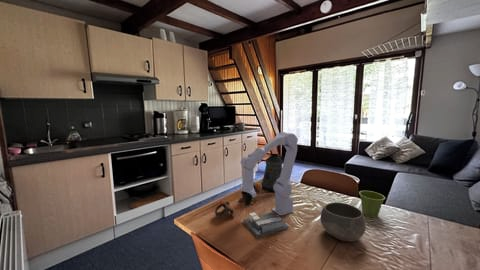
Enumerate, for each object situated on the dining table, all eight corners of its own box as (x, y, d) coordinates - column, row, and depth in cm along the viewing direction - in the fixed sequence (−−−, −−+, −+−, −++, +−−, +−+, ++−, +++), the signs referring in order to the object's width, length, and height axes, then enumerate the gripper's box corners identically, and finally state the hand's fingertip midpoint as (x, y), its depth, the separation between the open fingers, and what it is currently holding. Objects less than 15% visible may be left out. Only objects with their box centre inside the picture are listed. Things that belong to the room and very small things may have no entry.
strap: (278, 218, 103) (278, 216, 103) (282, 221, 100) (282, 219, 100) (255, 224, 97) (255, 221, 97) (258, 227, 94) (258, 224, 94)
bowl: (365, 254, 80) (367, 224, 78) (316, 240, 89) (318, 212, 87) (363, 231, 95) (365, 205, 94) (322, 221, 104) (323, 197, 103)
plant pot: (361, 218, 107) (362, 198, 106) (355, 208, 118) (356, 189, 117) (387, 222, 104) (389, 200, 102) (378, 211, 115) (380, 191, 114)
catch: (254, 218, 103) (254, 212, 103) (260, 223, 99) (260, 217, 98) (249, 219, 102) (249, 213, 102) (254, 225, 97) (254, 218, 97)
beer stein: (256, 188, 147) (257, 154, 144) (271, 181, 162) (271, 150, 159) (277, 194, 137) (278, 158, 134) (290, 186, 151) (291, 153, 149)
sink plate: (271, 215, 110) (271, 207, 110) (288, 228, 98) (288, 220, 97) (243, 222, 103) (243, 214, 102) (257, 237, 90) (257, 229, 90)
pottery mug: (235, 222, 104) (227, 210, 101) (219, 228, 106) (211, 217, 103) (236, 206, 115) (229, 195, 112) (222, 211, 117) (215, 201, 114)
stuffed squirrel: (237, 201, 126) (237, 180, 125) (251, 194, 137) (251, 175, 135) (250, 206, 120) (250, 184, 118) (263, 198, 131) (264, 178, 129)
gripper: (234, 176, 109) (234, 201, 111) (247, 185, 96) (247, 213, 98) (246, 175, 112) (246, 198, 114) (260, 183, 100) (259, 210, 101)
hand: (247, 205), depth 106 cm, fingers closed
